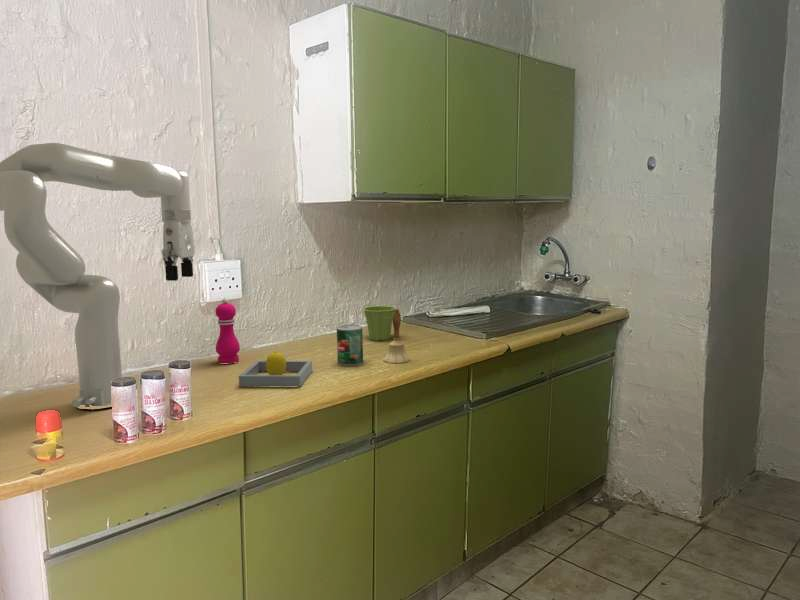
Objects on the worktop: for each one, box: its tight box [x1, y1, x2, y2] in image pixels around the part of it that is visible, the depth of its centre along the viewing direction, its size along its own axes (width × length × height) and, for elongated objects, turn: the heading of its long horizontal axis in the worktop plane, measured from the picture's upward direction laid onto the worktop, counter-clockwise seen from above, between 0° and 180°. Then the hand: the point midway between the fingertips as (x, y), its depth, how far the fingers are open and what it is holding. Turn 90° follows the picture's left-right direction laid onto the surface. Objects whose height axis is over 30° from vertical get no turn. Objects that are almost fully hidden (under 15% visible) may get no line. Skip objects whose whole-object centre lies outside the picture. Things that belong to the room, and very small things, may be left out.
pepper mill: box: [215, 297, 241, 364], centre depth 189 cm, size 7×7×20 cm
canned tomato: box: [336, 324, 364, 367], centre depth 187 cm, size 8×8×11 cm
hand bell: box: [383, 308, 411, 364], centre depth 189 cm, size 8×8×16 cm
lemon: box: [265, 350, 287, 375], centre depth 170 cm, size 6×6×8 cm
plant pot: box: [362, 305, 397, 342], centre depth 219 cm, size 12×12×11 cm
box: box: [238, 360, 313, 387], centre depth 171 cm, size 16×16×3 cm
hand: (180, 278), depth 171 cm, fingers open, 9 cm apart
